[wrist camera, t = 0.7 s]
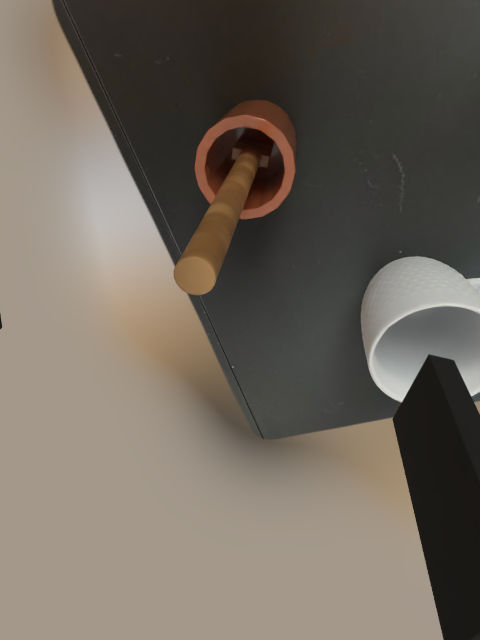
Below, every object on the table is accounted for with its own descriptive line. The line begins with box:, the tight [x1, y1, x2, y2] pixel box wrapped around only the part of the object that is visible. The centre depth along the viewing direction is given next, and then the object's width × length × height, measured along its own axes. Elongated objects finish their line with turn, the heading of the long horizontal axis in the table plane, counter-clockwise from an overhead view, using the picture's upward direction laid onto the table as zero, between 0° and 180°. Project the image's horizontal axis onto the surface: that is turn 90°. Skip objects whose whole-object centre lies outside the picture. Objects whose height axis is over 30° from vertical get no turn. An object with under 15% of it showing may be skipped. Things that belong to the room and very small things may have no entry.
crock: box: [195, 100, 297, 219], centre depth 37 cm, size 8×8×10 cm
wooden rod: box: [174, 137, 273, 295], centre depth 30 cm, size 3×2×27 cm, turn 78°
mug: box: [361, 256, 480, 402], centre depth 41 cm, size 15×11×13 cm
